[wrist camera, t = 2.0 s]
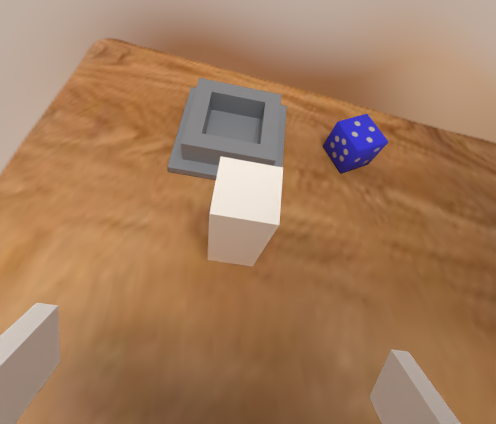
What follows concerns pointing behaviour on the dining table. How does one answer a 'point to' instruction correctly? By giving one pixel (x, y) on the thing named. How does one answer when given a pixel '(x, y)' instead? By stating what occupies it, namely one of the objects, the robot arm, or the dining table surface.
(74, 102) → the dining table surface
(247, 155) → the socket
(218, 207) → the plug
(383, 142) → the die
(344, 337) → the dining table surface
